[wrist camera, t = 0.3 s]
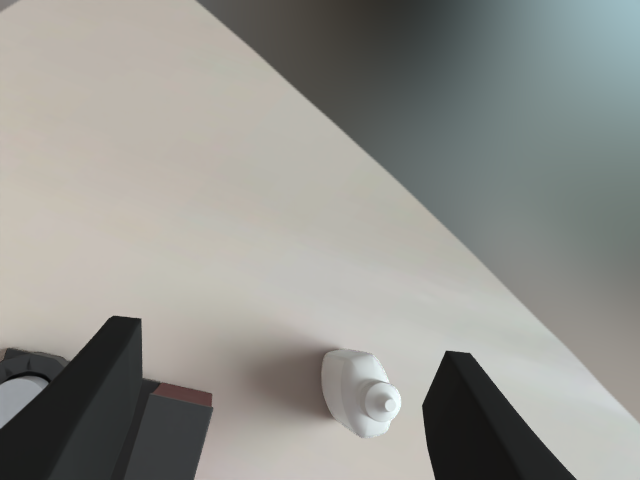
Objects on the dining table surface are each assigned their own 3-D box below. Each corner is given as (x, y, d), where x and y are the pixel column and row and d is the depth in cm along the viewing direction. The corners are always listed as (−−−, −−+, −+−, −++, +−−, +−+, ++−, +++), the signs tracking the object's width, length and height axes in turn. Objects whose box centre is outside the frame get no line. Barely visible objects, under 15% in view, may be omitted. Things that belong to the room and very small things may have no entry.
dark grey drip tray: (-70, 553, 34) (-92, 571, 32) (8, 343, 37) (-7, 344, 35) (100, 581, 36) (91, 600, 33) (161, 378, 39) (157, 382, 36)
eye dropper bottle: (305, 409, 41) (342, 442, 29) (327, 342, 42) (371, 347, 30) (355, 426, 41) (410, 464, 30) (375, 359, 43) (436, 371, 31)
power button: (-10, 423, 34) (-24, 429, 32) (9, 370, 35) (-3, 372, 33) (45, 435, 35) (35, 441, 33) (63, 382, 36) (54, 385, 34)
